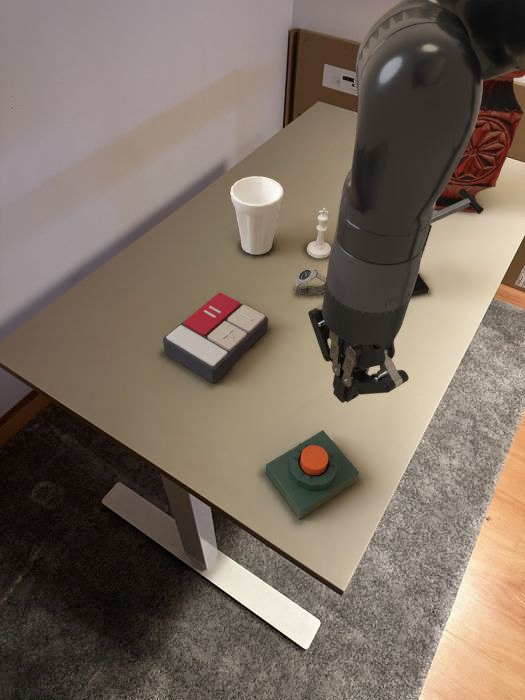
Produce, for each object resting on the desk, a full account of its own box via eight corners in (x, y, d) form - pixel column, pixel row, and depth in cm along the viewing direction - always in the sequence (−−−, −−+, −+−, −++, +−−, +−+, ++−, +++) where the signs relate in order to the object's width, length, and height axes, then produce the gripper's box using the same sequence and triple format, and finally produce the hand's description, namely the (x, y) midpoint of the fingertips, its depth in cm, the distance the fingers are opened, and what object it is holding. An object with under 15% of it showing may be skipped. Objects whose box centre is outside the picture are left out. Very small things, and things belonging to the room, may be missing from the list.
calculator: (269, 314, 86) (213, 367, 77) (268, 332, 89) (214, 384, 80) (219, 288, 90) (161, 335, 81) (219, 306, 93) (163, 353, 85)
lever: (464, 195, 89) (465, 184, 87) (483, 214, 85) (484, 203, 83) (396, 226, 90) (395, 216, 88) (411, 246, 86) (410, 236, 84)
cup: (226, 257, 101) (223, 201, 91) (239, 228, 108) (238, 172, 98) (274, 265, 100) (277, 209, 90) (285, 235, 106) (288, 179, 96)
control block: (356, 481, 70) (361, 466, 67) (299, 520, 67) (301, 506, 63) (321, 439, 75) (324, 422, 71) (265, 473, 71) (266, 458, 67)
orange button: (332, 466, 67) (334, 460, 66) (311, 480, 66) (312, 474, 64) (315, 446, 69) (317, 440, 68) (294, 460, 68) (295, 453, 66)
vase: (414, 179, 121) (452, 40, 98) (472, 183, 120) (524, 44, 98) (420, 213, 112) (463, 68, 89) (483, 217, 111) (542, 72, 89)
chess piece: (306, 242, 105) (310, 200, 97) (329, 243, 105) (335, 201, 97) (307, 258, 101) (311, 215, 94) (331, 258, 102) (338, 216, 94)
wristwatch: (293, 286, 96) (295, 265, 92) (326, 286, 96) (329, 265, 92) (294, 298, 94) (296, 278, 90) (328, 298, 94) (331, 278, 90)
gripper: (457, 307, 42) (409, 420, 55) (352, 227, 49) (332, 344, 62) (391, 345, 39) (357, 455, 52) (290, 254, 46) (283, 371, 59)
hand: (344, 395), depth 57 cm, fingers closed
